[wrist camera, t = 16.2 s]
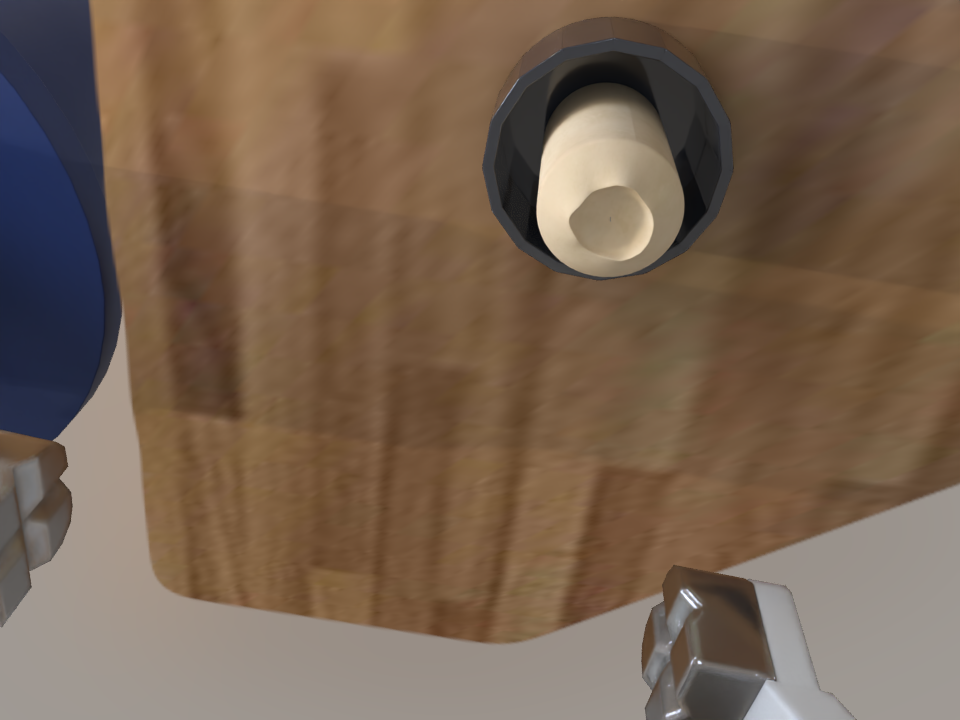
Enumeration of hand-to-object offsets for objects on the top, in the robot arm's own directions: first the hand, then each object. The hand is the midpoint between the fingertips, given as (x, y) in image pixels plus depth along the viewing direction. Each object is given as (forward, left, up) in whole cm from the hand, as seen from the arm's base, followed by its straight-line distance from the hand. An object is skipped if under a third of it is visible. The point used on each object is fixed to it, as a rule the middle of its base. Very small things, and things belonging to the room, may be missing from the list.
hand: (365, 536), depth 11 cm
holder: (+5, -3, -31) cm, 32 cm away
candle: (+5, -3, -31) cm, 31 cm away
